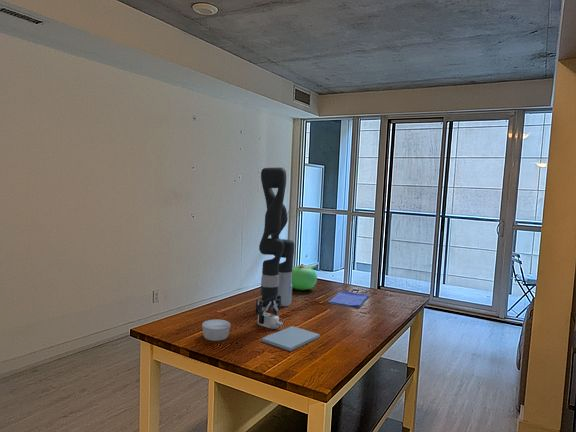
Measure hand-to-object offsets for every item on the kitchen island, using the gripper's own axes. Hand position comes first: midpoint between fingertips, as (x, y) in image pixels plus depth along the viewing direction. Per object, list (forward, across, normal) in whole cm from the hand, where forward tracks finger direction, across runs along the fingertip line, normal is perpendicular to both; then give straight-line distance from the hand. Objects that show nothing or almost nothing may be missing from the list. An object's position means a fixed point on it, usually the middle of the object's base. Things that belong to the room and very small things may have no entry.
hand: (267, 321), depth 184 cm
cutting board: (+2, +6, +17) cm, 18 cm away
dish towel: (+2, -63, +5) cm, 64 cm away
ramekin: (+2, +25, -6) cm, 25 cm away
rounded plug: (+2, 0, +1) cm, 2 cm away
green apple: (+1, -63, -27) cm, 69 cm away
